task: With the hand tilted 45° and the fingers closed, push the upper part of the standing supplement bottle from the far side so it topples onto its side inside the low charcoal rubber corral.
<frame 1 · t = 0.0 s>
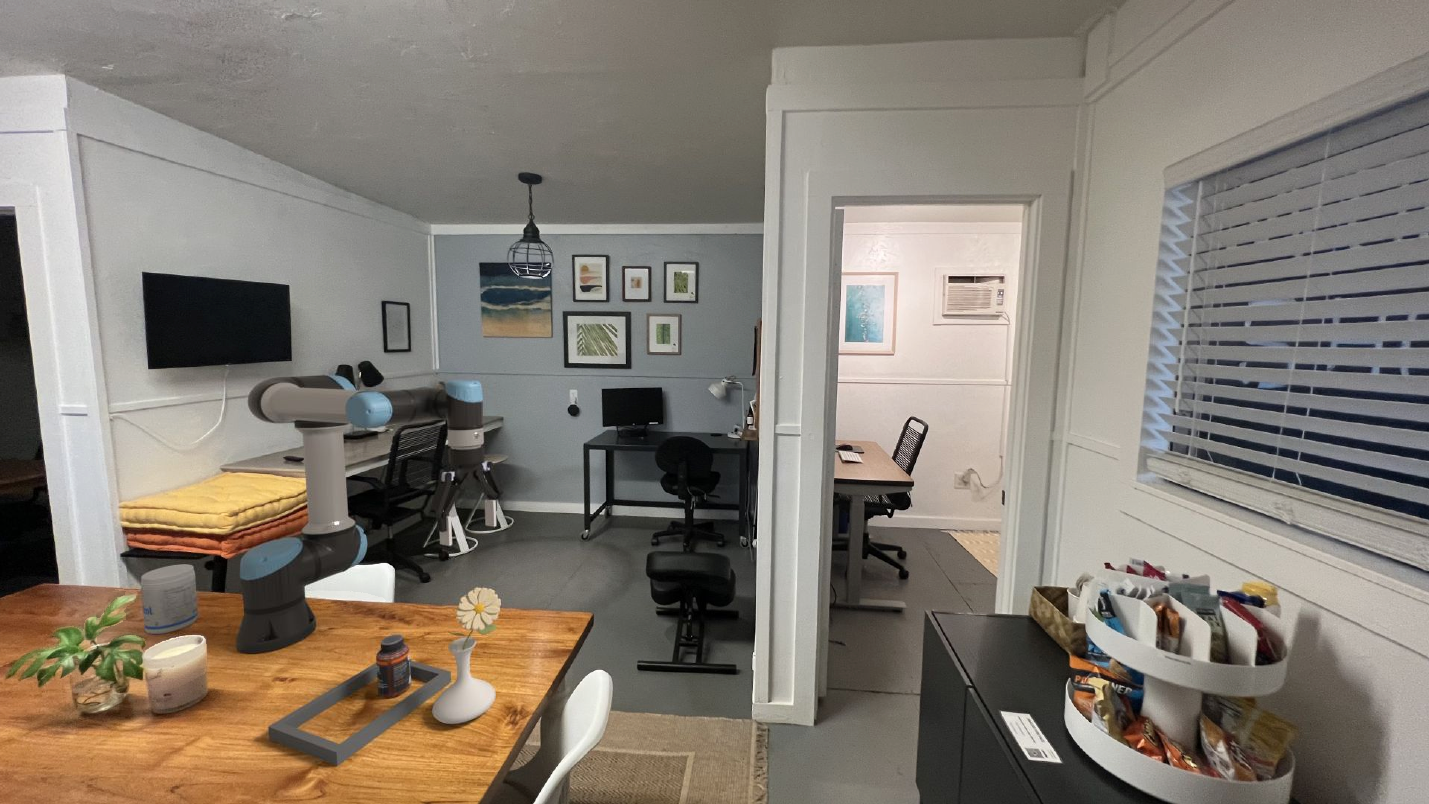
hand: (469, 534, 122), 28 cm above the table, tool pointing down, fingers open, 13 cm apart
flower in vase: (469, 709, 103), on the table
supplement tub: (172, 626, 133), on the table
supplement bottle: (395, 691, 108), resting in corral
corral: (367, 708, 102), on the table
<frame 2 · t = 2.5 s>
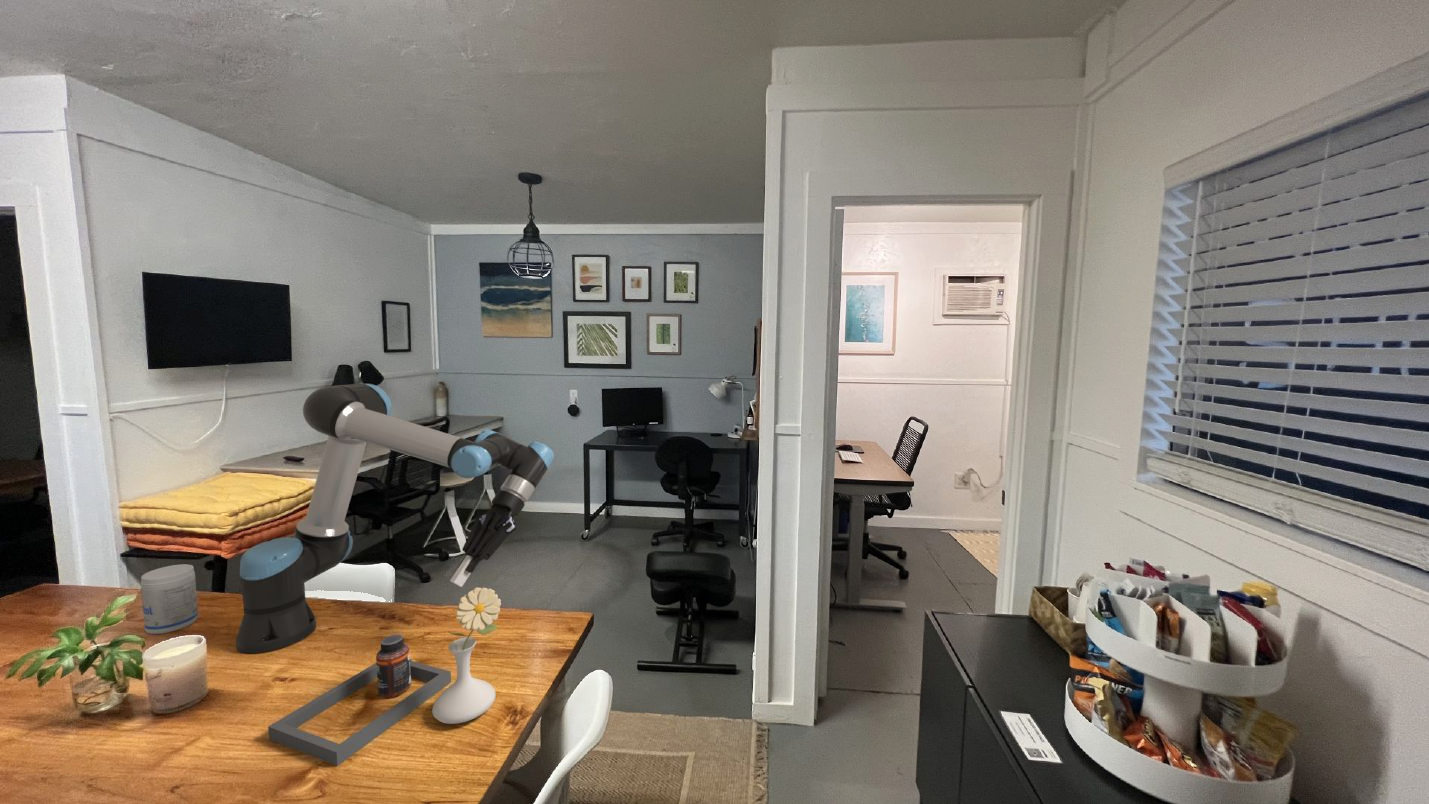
hand: (455, 584, 119), 17 cm above the table, tool tilted 45°, fingers closed
nothing on the table moved.
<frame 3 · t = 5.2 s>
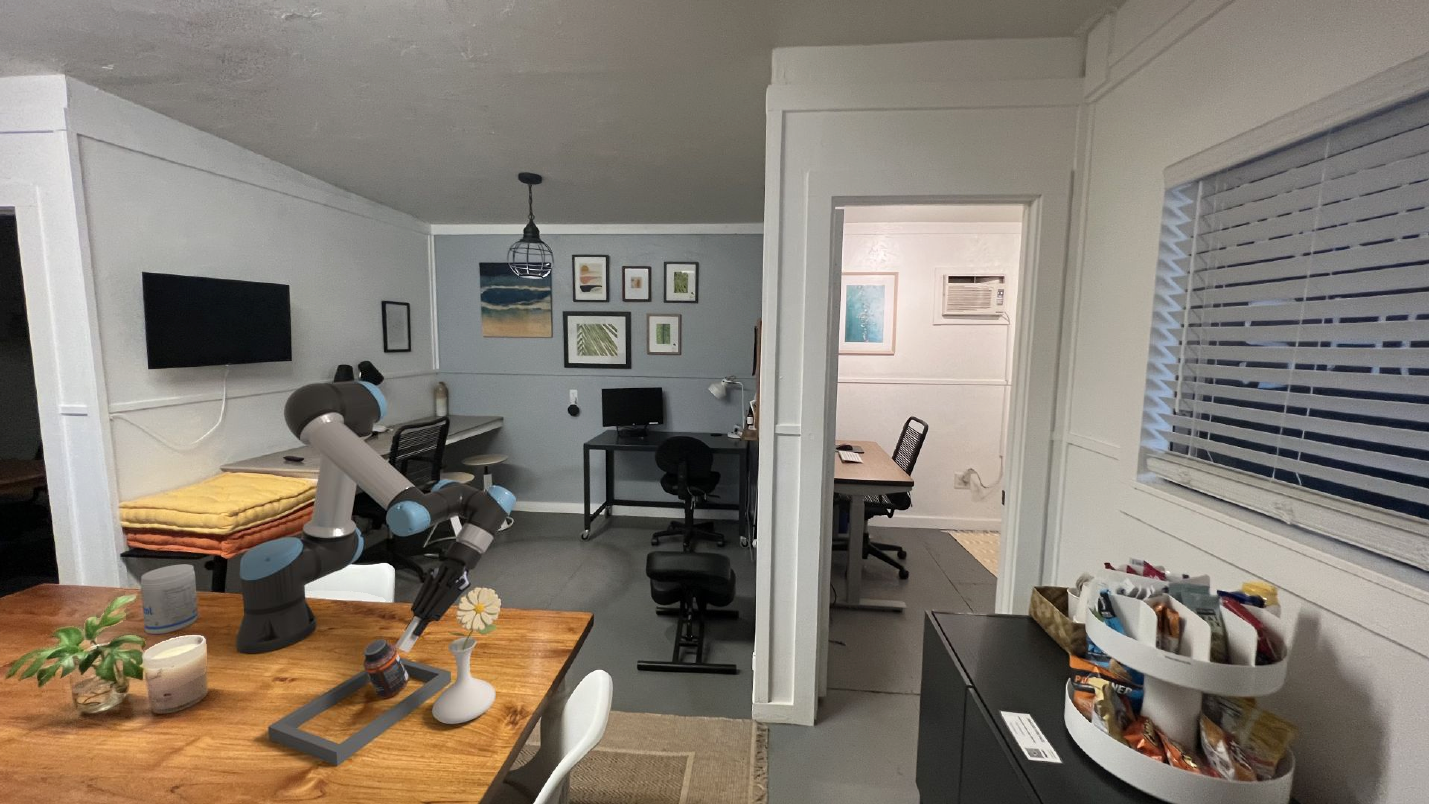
hand: (401, 649, 108), 8 cm above the table, tool tilted 45°, fingers closed
supplement bottle: (394, 687, 108), point 1 cm above the table, touching gripper
everything else where it was.
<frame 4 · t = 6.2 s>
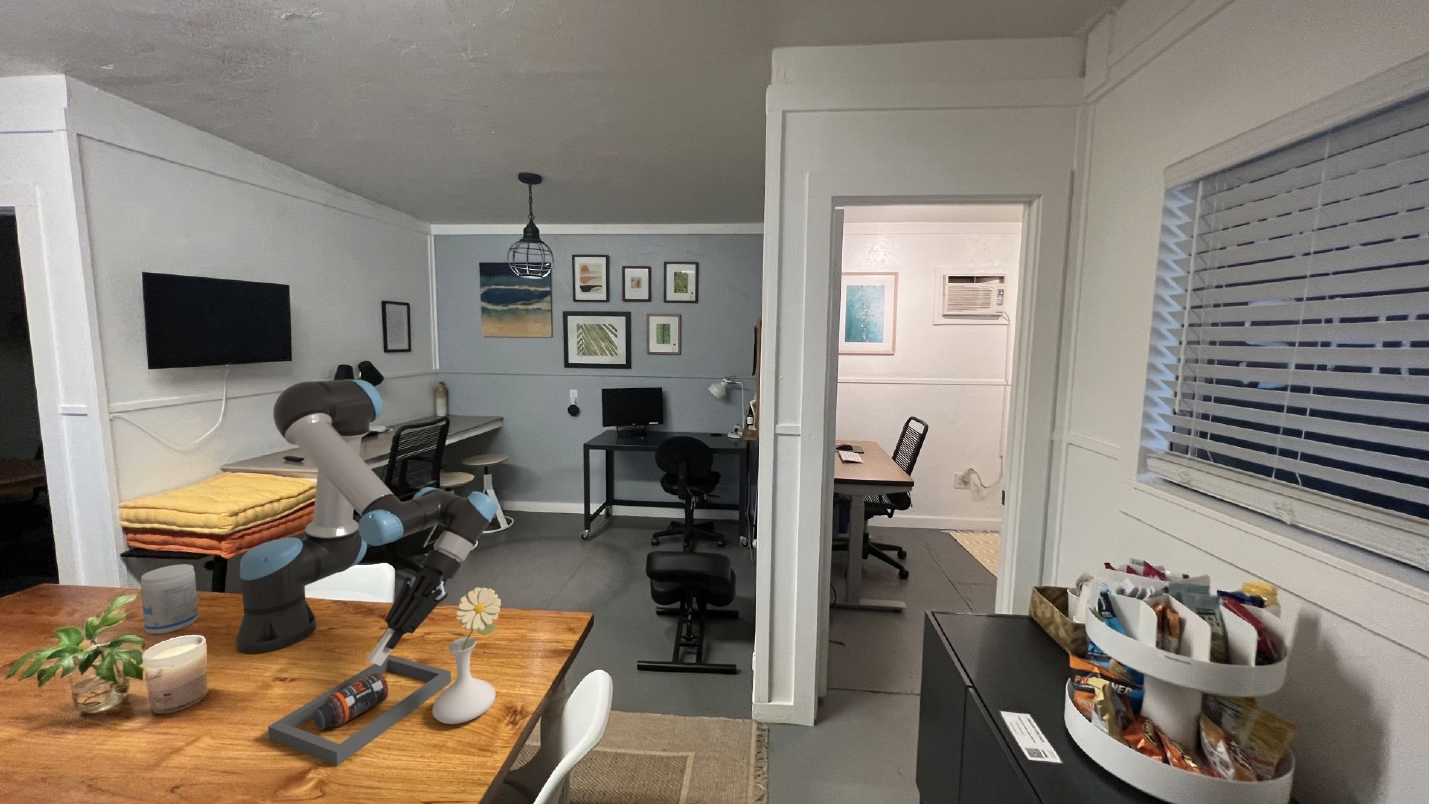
hand: (373, 662, 104), 8 cm above the table, tool tilted 45°, fingers closed
supplement bottle: (382, 684, 105), point 3 cm above the table
everything else where it was.
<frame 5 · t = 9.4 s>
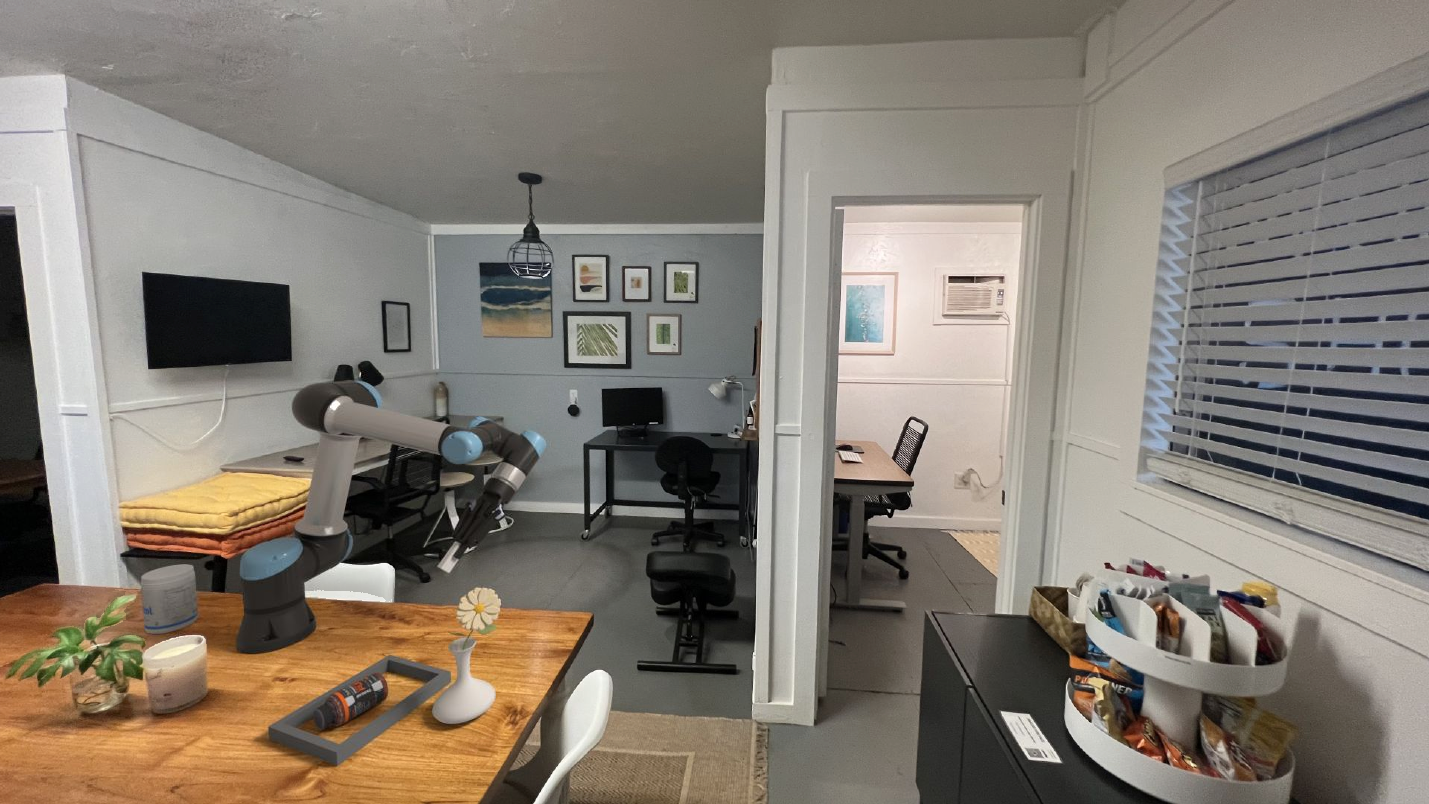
hand: (443, 569, 119), 21 cm above the table, tool tilted 45°, fingers closed
nothing on the table moved.
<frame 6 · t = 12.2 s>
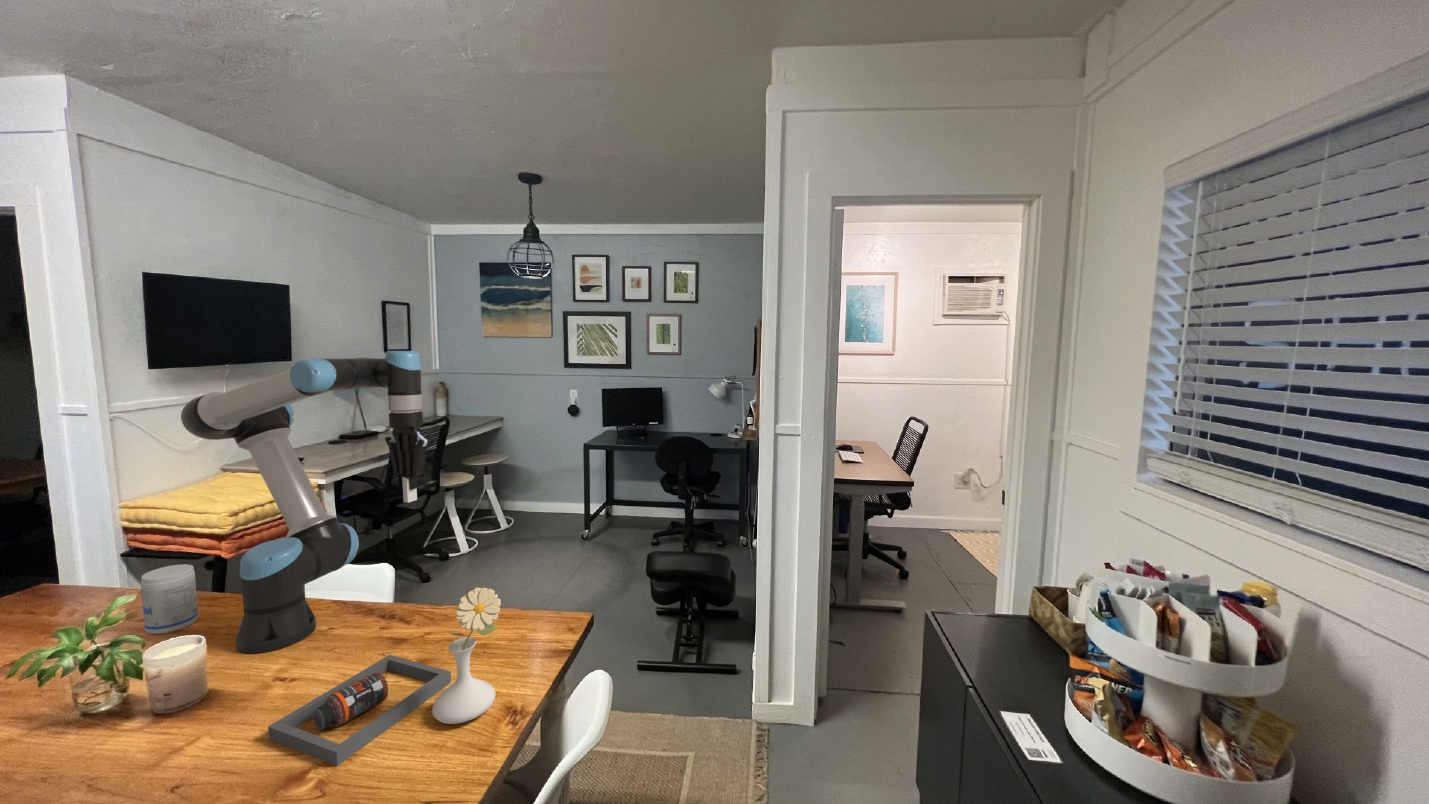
hand: (410, 500, 134), 32 cm above the table, tool pointing down, fingers closed
nothing on the table moved.
at the end: supplement bottle tilted 90°; supplement bottle inside the target area on the corral (3.3 cm from its centre), point 3.0 cm above the corral's base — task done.
